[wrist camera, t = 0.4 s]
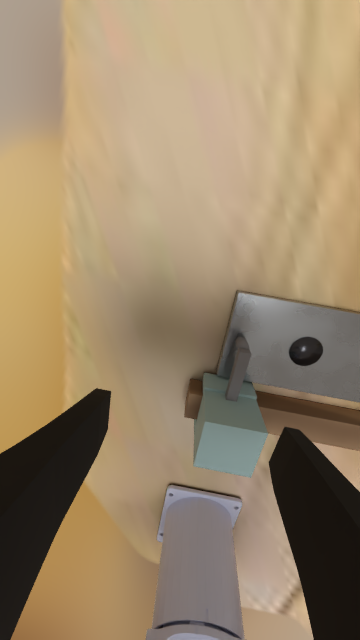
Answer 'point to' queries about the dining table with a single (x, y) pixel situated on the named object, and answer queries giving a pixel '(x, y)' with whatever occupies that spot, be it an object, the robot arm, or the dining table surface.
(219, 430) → the carriage
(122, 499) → the dining table surface
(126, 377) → the dining table surface
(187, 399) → the trammel rail
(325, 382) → the flange plate
